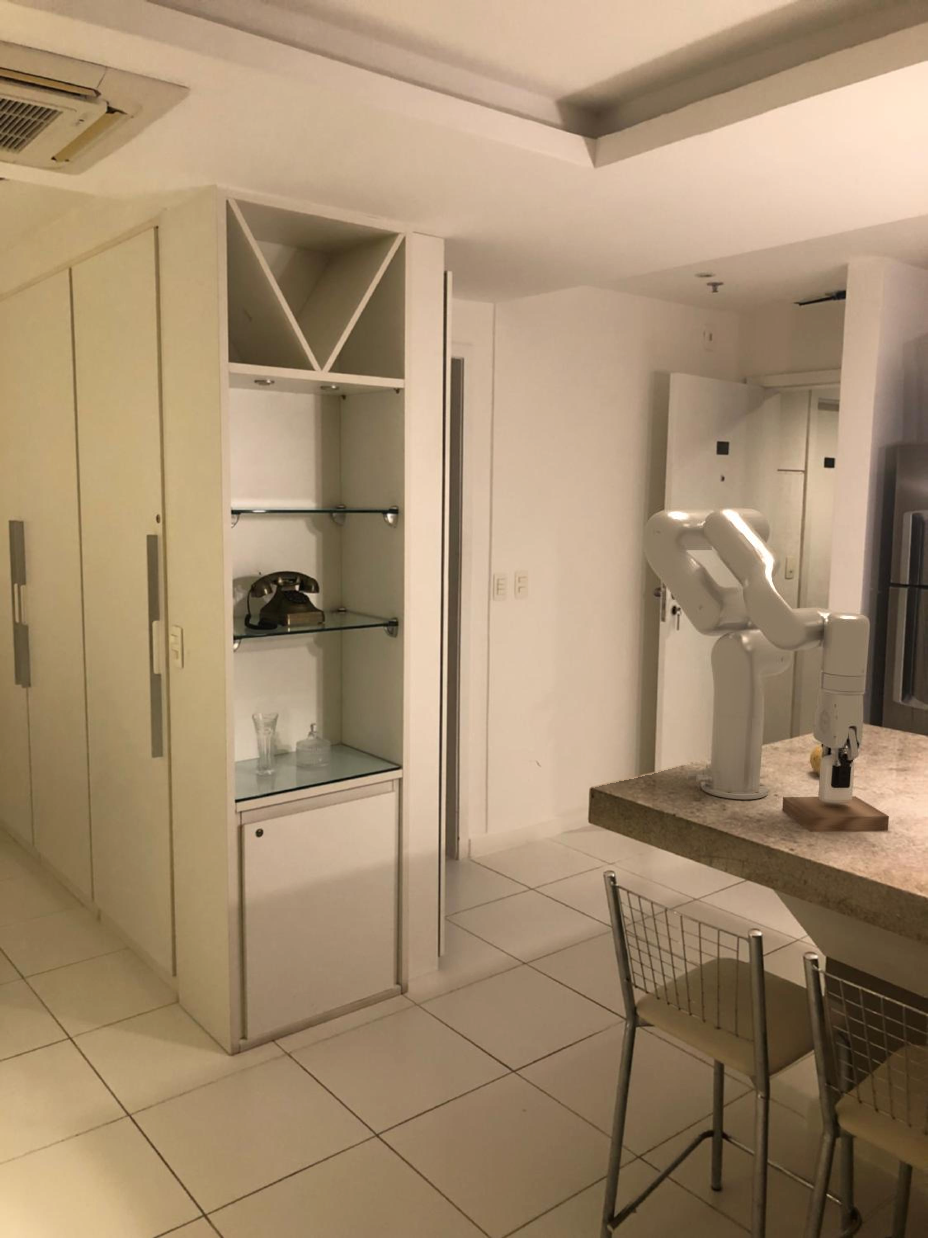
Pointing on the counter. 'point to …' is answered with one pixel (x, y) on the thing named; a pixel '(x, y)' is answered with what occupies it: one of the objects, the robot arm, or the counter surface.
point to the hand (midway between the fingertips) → (835, 783)
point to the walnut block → (835, 814)
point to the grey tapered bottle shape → (825, 788)
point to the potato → (816, 759)
